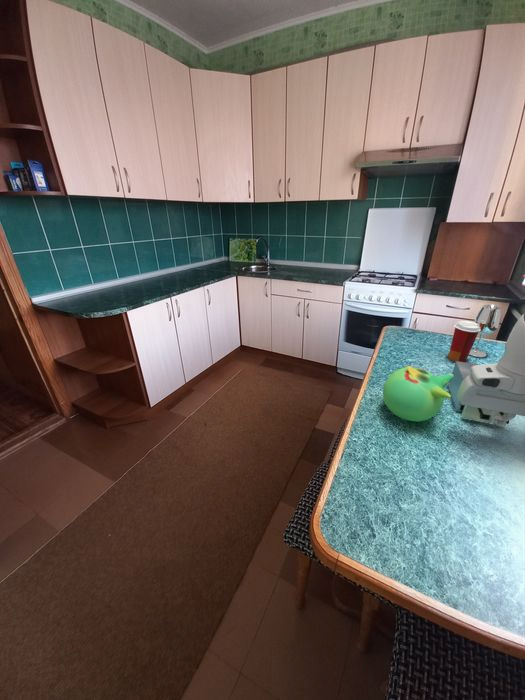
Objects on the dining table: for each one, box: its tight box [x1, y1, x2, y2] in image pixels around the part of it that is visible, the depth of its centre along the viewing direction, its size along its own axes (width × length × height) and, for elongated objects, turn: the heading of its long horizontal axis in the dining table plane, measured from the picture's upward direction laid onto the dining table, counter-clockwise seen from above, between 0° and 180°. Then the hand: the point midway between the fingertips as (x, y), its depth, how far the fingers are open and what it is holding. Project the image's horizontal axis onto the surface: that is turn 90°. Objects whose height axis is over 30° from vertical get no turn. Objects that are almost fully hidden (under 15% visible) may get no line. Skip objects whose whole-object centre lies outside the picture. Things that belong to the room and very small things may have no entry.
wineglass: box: [468, 304, 502, 358], centre depth 115 cm, size 8×8×20 cm
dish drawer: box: [461, 405, 510, 427], centre depth 83 cm, size 19×10×8 cm, turn 159°
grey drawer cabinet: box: [447, 361, 481, 413], centre depth 89 cm, size 15×12×10 cm
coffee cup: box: [448, 320, 481, 363], centre depth 112 cm, size 8×8×15 cm
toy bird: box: [382, 365, 454, 422], centre depth 84 cm, size 18×17×15 cm
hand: (496, 423), depth 75 cm, fingers closed, pressing on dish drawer
